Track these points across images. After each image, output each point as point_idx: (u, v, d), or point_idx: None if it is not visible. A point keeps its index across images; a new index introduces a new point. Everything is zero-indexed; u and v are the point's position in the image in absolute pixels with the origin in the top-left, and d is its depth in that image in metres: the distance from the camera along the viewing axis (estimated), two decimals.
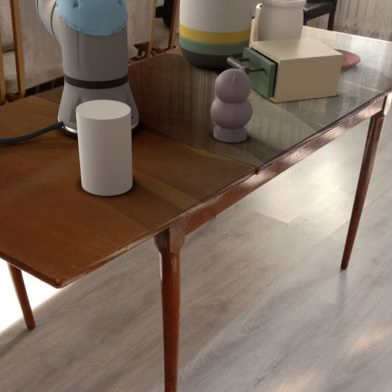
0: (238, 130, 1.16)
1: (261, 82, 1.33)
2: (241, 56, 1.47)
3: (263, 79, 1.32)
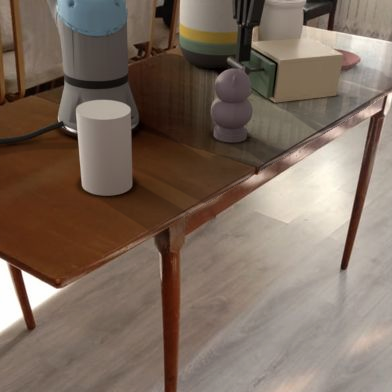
0: (238, 130, 1.16)
1: (261, 82, 1.33)
2: None
3: (263, 79, 1.32)
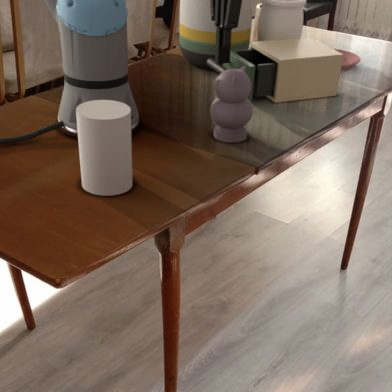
0: (238, 130, 1.16)
1: None
2: None
3: None
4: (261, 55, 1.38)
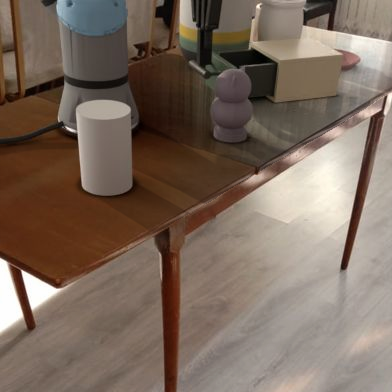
0: (238, 130, 1.16)
1: None
2: None
3: None
4: (244, 56, 1.37)
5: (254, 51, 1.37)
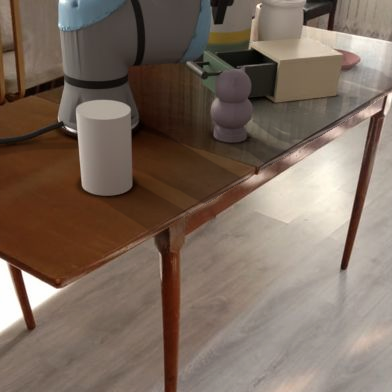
0: (238, 130, 1.16)
1: None
2: None
3: None
4: (242, 57, 1.37)
5: (252, 51, 1.37)
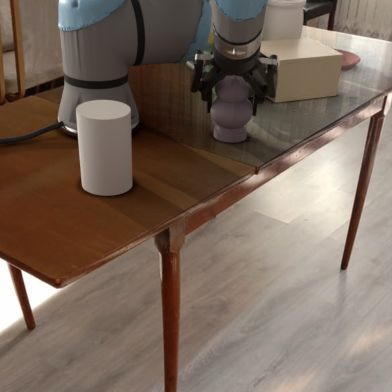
0: (238, 130, 1.16)
1: None
2: None
3: None
4: None
5: None
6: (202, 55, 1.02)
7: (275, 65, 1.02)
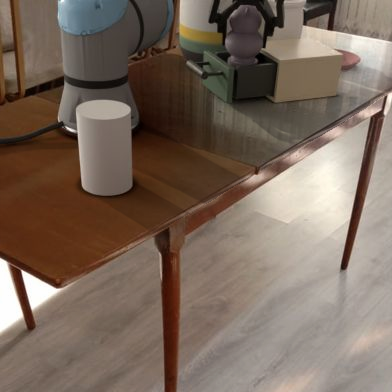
0: (250, 60, 1.30)
1: (221, 86, 1.30)
2: None
3: (222, 83, 1.29)
4: None
5: None
6: None
7: None
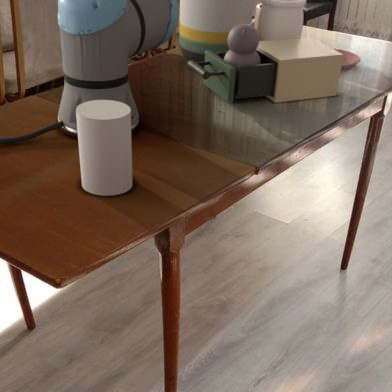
0: None
1: (222, 86, 1.30)
2: None
3: (224, 83, 1.29)
4: None
5: None
6: None
7: None
